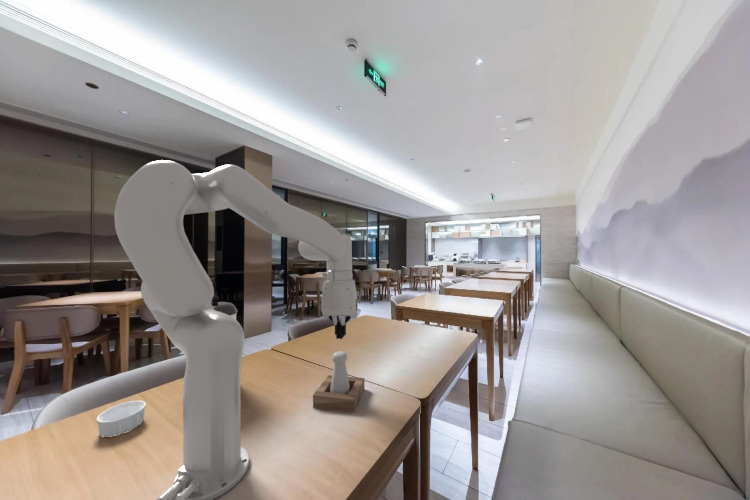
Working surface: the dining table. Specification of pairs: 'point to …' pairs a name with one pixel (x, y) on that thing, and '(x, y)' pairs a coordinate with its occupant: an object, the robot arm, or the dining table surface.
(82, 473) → the dining table surface
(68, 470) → the dining table surface
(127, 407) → the ramekin
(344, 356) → the salt shaker
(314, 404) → the socket block
